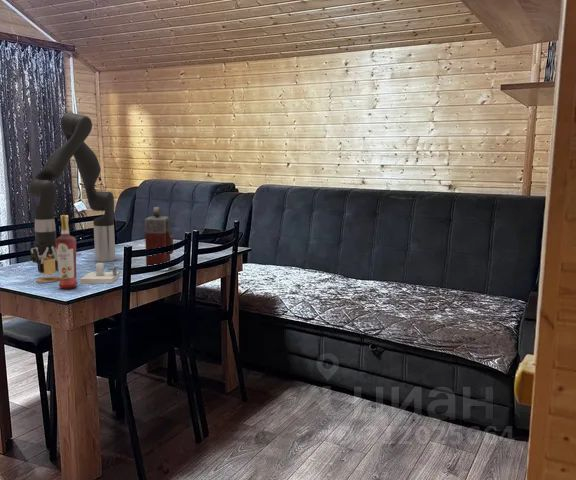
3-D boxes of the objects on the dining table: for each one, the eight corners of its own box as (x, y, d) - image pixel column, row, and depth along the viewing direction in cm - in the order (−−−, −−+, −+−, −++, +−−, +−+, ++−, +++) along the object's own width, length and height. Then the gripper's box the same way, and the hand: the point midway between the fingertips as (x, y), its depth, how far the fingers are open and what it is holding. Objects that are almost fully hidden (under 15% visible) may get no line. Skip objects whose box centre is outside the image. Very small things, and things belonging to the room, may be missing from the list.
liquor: (81, 285, 204) (77, 214, 199) (74, 290, 196) (70, 216, 192) (62, 285, 204) (58, 214, 199) (54, 290, 196) (50, 216, 192)
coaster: (41, 277, 216) (41, 276, 216) (63, 277, 216) (63, 275, 216) (32, 282, 207) (32, 281, 207) (55, 282, 208) (55, 281, 208)
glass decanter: (171, 271, 230) (170, 208, 226) (146, 270, 230) (144, 207, 225) (175, 266, 239) (174, 206, 234) (151, 266, 239) (149, 205, 234)
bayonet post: (89, 276, 218) (89, 260, 217) (119, 276, 219) (119, 260, 218) (80, 283, 206) (79, 266, 205) (112, 283, 207) (111, 266, 206)
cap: (54, 270, 215) (53, 256, 214) (58, 274, 209) (57, 259, 208) (39, 272, 212) (38, 257, 211) (42, 275, 206) (41, 260, 205)
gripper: (36, 232, 200) (39, 275, 203) (66, 228, 213) (69, 268, 216) (23, 231, 204) (26, 273, 206) (53, 227, 216) (56, 266, 219)
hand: (48, 270), depth 211 cm, fingers closed on cap, 5 cm apart
